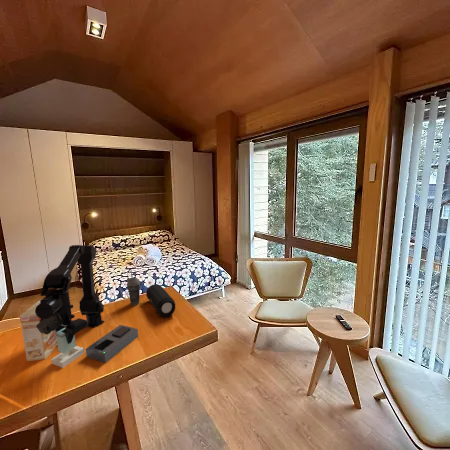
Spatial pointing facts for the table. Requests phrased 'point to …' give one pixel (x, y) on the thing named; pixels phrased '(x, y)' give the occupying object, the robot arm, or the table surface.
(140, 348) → the table surface
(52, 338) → the coffeecake box
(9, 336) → the table surface
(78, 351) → the light grey tray
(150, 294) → the portable speaker
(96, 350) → the panel
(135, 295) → the beverage cup
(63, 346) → the plug
